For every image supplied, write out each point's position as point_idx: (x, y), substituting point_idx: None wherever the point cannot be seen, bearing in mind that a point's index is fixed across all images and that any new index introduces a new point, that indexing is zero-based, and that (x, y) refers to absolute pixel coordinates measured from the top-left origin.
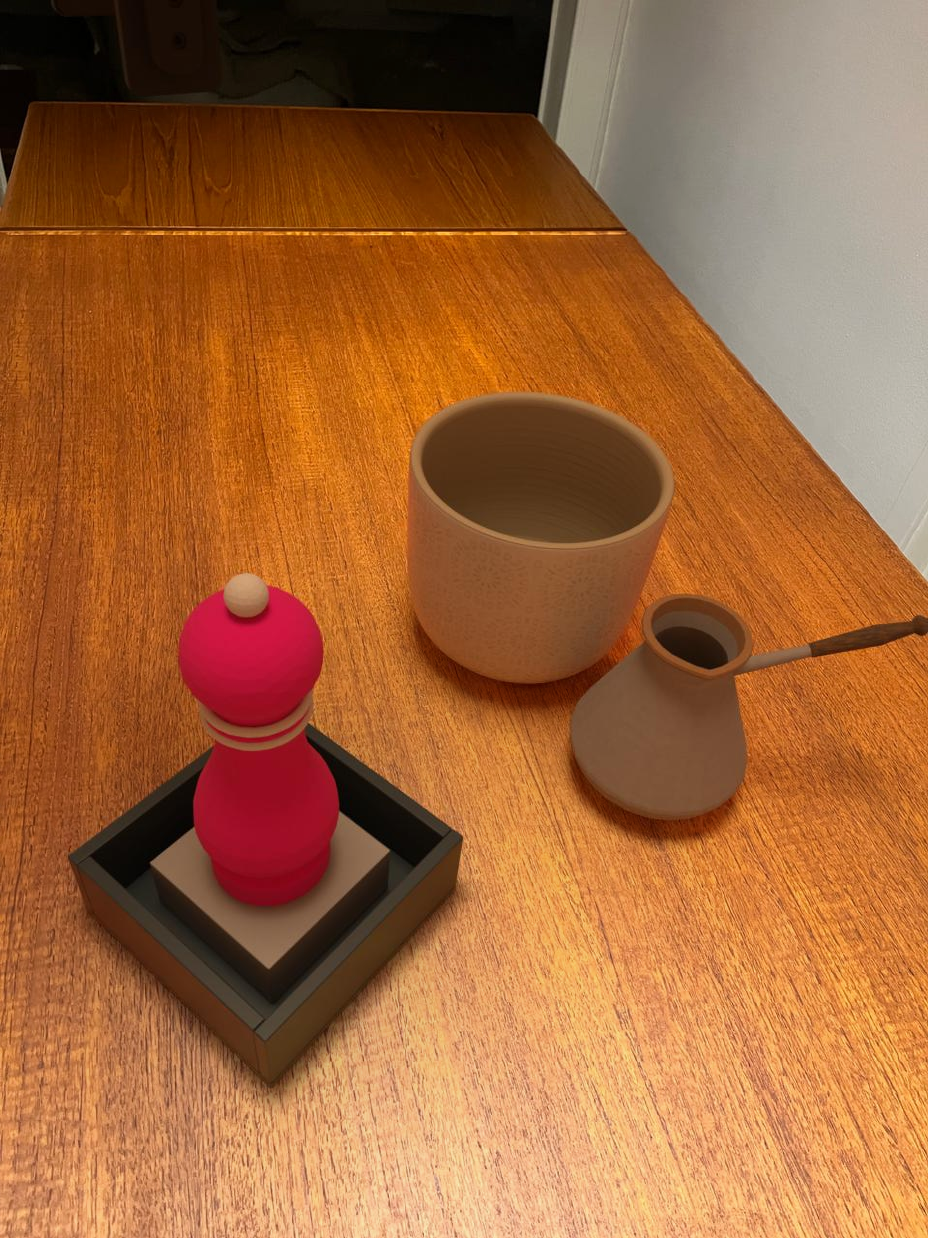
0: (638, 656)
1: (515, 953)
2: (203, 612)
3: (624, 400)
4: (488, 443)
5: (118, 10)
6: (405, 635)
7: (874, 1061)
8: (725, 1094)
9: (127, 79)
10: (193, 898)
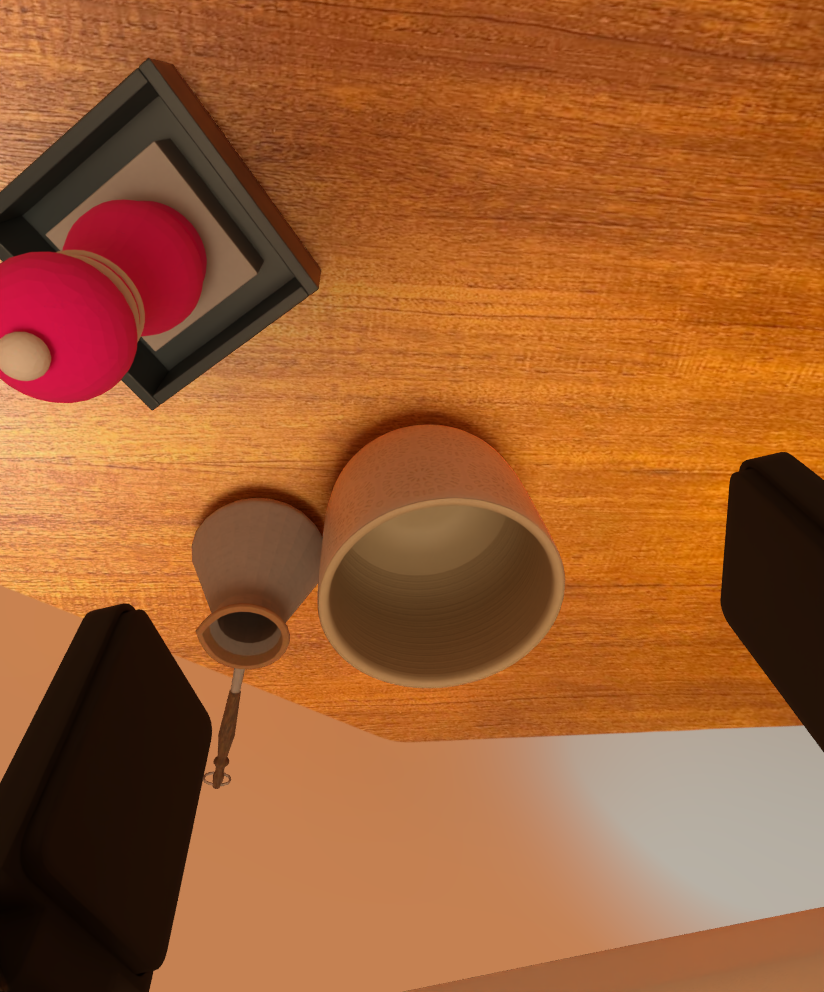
0: (262, 586)
1: (115, 407)
2: (36, 301)
3: (669, 647)
4: (540, 556)
5: (25, 743)
6: (436, 404)
7: (37, 579)
8: (14, 498)
9: (86, 621)
10: (113, 178)
